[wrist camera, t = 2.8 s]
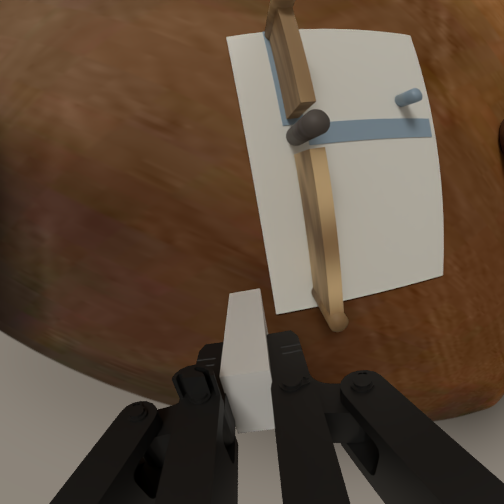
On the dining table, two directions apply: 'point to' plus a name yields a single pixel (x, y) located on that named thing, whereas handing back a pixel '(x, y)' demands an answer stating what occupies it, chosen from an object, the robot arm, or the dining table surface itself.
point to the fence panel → (321, 235)
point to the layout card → (346, 161)
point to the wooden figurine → (502, 135)
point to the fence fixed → (293, 73)
